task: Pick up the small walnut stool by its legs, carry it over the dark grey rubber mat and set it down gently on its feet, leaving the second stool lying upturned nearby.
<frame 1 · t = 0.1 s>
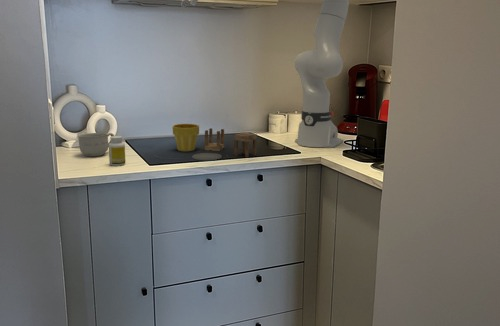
hand: (187, 5, 177), 54 cm above the worktop, tool tilted 30°, fingers open, 8 cm apart
upturned stool: (214, 149, 202), on the worktop
stool: (245, 155, 192), on the worktop
teacup: (98, 155, 190), on the worktop
mat: (207, 157, 188), on the worktop
supplement bottle: (117, 165, 175), on the worktop
plant pot: (186, 150, 200), on the worktop
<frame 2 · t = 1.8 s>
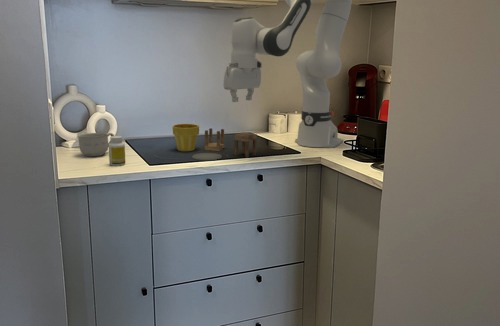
hand: (242, 101, 186), 21 cm above the worktop, tool pointing down, fingers open, 8 cm apart
nothing on the worktop moved.
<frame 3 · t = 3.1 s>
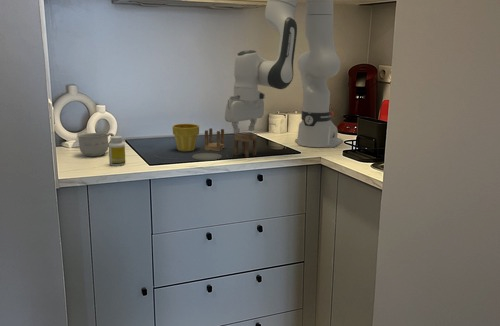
hand: (244, 131, 190), 9 cm above the worktop, tool pointing down, fingers open, 8 cm apart
nothing on the worktop moved.
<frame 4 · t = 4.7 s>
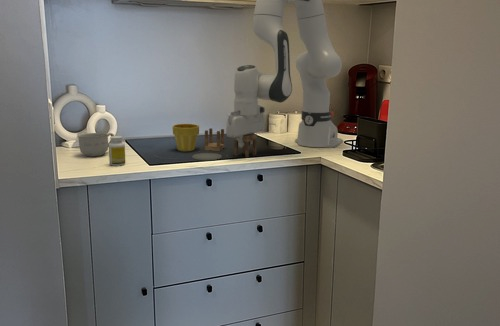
hand: (245, 145, 191), 4 cm above the worktop, tool pointing down, fingers closed on stool, 4 cm apart
stool: (245, 155, 192), on the worktop, touching gripper
everything else where it was.
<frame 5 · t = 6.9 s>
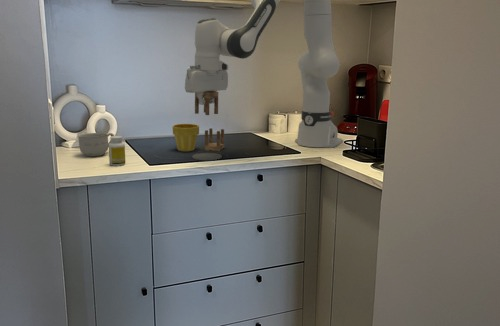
hand: (206, 103, 183), 20 cm above the worktop, tool pointing down, fingers closed on stool, 4 cm apart
stool: (206, 113, 184), point 16 cm above the worktop, touching gripper
everything else where it was.
when the fingers open (5 cm above the worktop, at t = 9.1 s): stool moves 1 cm, resting on mat.
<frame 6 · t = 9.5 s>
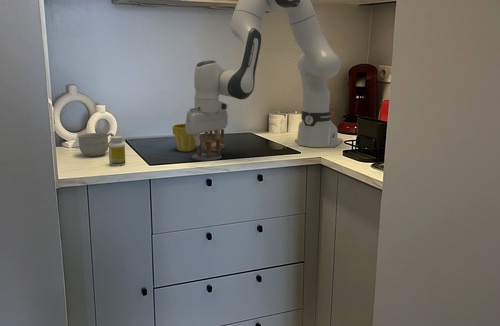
hand: (207, 143, 186), 5 cm above the worktop, tool pointing down, fingers open, 8 cm apart
stool: (208, 155, 188), resting on mat
everything else where it was.
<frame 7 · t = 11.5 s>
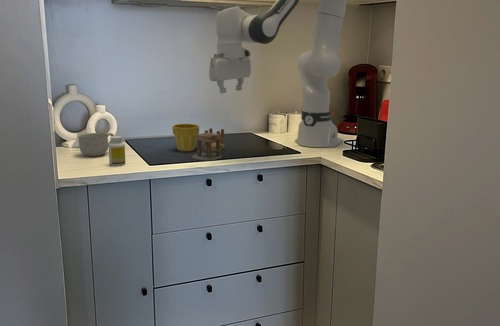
hand: (231, 91, 183), 24 cm above the worktop, tool pointing down, fingers open, 8 cm apart
nothing on the worktop moved.
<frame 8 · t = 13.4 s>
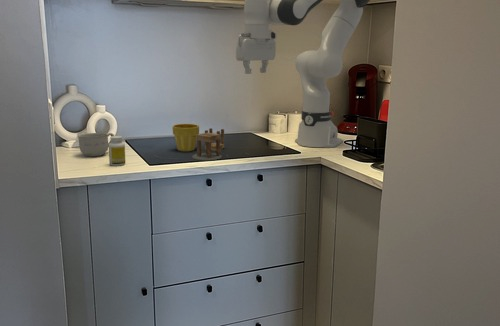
hand: (255, 73, 181), 31 cm above the worktop, tool pointing down, fingers open, 8 cm apart
nothing on the worktop moved.
at the end: stool inside the target area on the mat (1.0 cm from its centre), point 0.4 cm above the mat's base; stool tilted 0°; the gripper is holding nothing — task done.
